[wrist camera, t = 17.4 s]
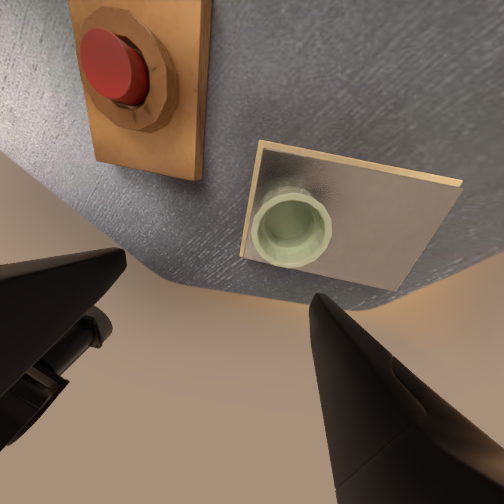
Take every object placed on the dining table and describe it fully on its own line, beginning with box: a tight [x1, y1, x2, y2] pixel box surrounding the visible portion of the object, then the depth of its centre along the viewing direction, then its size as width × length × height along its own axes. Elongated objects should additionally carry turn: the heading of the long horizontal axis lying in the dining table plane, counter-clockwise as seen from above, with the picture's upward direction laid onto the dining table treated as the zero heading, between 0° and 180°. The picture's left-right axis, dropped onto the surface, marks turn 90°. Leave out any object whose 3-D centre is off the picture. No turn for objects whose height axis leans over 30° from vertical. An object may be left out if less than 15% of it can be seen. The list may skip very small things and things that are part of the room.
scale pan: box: [243, 148, 464, 292], centre depth 15 cm, size 9×14×1 cm, turn 80°
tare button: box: [80, 28, 149, 106], centre depth 12 cm, size 3×3×2 cm
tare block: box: [68, 0, 212, 181], centre depth 14 cm, size 12×9×4 cm
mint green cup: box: [251, 186, 332, 268], centre depth 13 cm, size 5×5×4 cm
